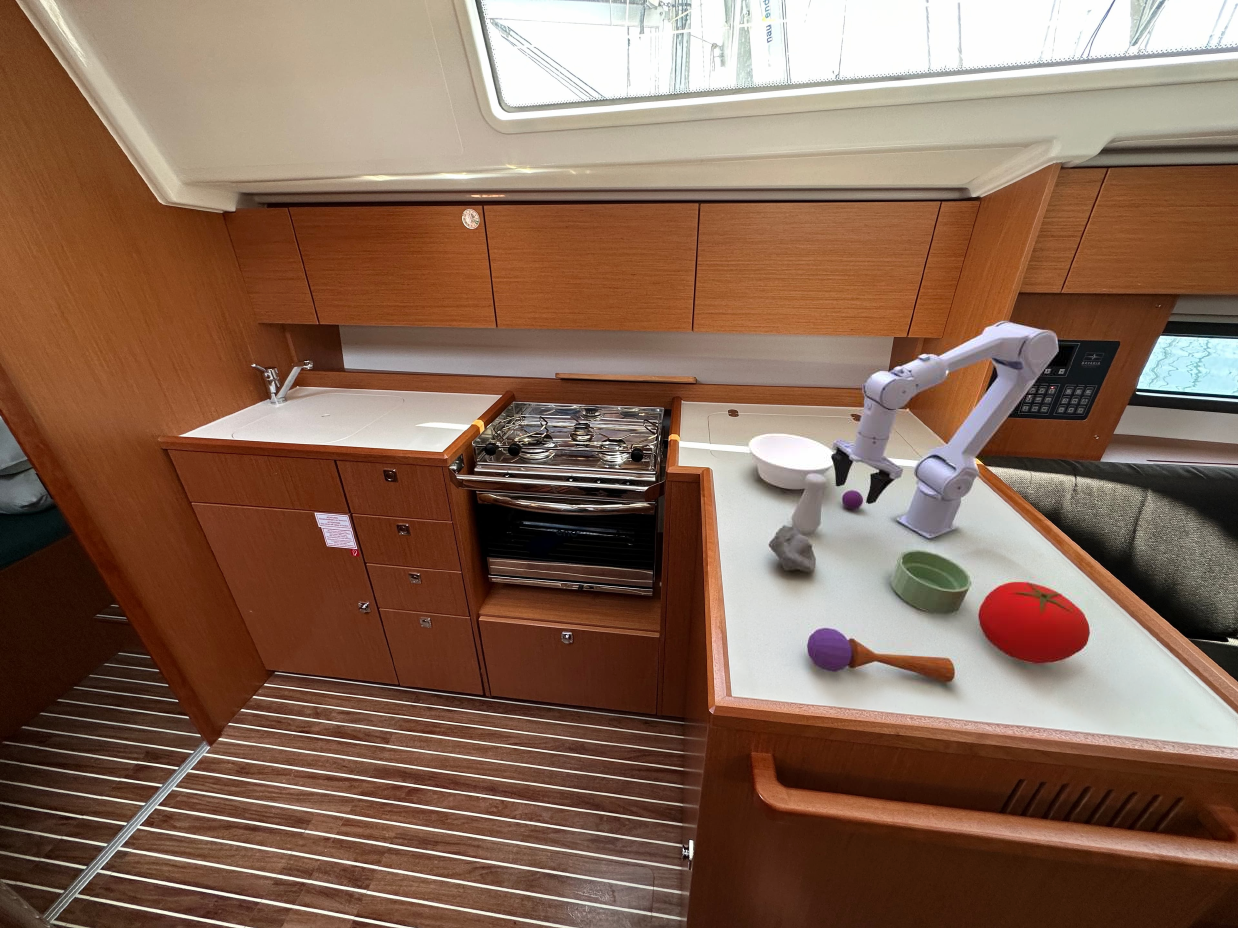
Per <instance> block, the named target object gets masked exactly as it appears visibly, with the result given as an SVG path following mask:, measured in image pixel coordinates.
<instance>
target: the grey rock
mask: <svg viewBox="0 0 1238 928" xmlns="http://www.w3.org/2000/svg"><path fill="white" fill-rule="evenodd" d="M768 547H769V548H770V550H771V551H772V552H773V553H774V554H775V556H776V557H777V558H778V559H779V562H780V563H781V566H782V567H783V569H784V570H785V571H795V570H798V571H802V572H807V573H814V572H815V569H816V561H817V558H816V556H815V553H814V550H813V544H811V542H810V540H809V538H808V537H807V536H805V535H804V534H802V533H800V532H799V531H797V530H796V529H795V528H794V527H793V526H789V525H785V524H783V525H782V526H781V527H780V528H779V529H778V530H777V531H776V532H775V535H774V536H773V538H772V539H771V540H770V541H769V543H768Z"/></svg>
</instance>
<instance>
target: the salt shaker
mask: <svg viewBox="0 0 1238 928" xmlns="http://www.w3.org/2000/svg"><path fill="white" fill-rule="evenodd" d="M804 483H805V486H806V488H804V491H803V493H802V496H801V497H800V499H799V501H798V503H797V505H796V507H795V509H794V511H793V513H792V515H791V521H792V527H794V528H795V529H796V530H797V531H799V532H800V533H801V534H802V535H811V534H812V533H814V532H815V531H816V530H817V529H818V528H819V527H820V525H821V523H822V522H821V521H822V505H823V504H822V503H823V491H824V490H825V489H826V488H827V487H828V479H827V478H826V476H824V475H820V474H813V473H812V474H809V475H807V476H806V478H805V481H804Z"/></svg>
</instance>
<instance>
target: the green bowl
mask: <svg viewBox="0 0 1238 928" xmlns="http://www.w3.org/2000/svg"><path fill="white" fill-rule="evenodd" d="M890 585H891V587H892V589H893V591H894V592H895V593H896V594H897V595H898V596H899V597H900V598H901V599H903V600H904V601H905V602H907V603H908V604H910V605H912V606H914V607H916V608H918V609H920V610H923V611H926V612H928V613H929V612H930V613H932V614H933V613H934V614H940V615H946V614H953V613H955V612H958V611H959V610H960V608H961V606H962V604H963V602H964V601H965V597H966V596H967V593H968V592H969V590H970V587H971V586H972V579H971V576H970V575H969V573H968V572H967V570H965V569H964V568H963V567H962V566H961V565H959V564H958V563H956V562H954V561H953V560H951V559H950V558H947V557H945V556H942V555H940V554H938V553H935V552H930V551H927V550H918V549H911V550H906V551H904V552H901V554H900V555H899V556H898V559H897V560H896V563H895V566H894V569H893V571H892V574H891V576H890Z"/></svg>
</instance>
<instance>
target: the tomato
mask: <svg viewBox="0 0 1238 928" xmlns="http://www.w3.org/2000/svg"><path fill="white" fill-rule="evenodd" d="M978 621H979V622H978V623H979V627H980V629H981V631H982V634H983V635H984V637H985V638H986V639H987V640H988V642H990V644H992V645H993V646H994V647H996V648H997V649H998V650H999V651H1000V652H1002V653H1004V654H1005V655H1006V656H1009V657H1011V658H1014V659H1016V660H1019V661H1022V662H1026V663H1031V664H1036V665H1037V664H1039V665H1041V664H1043V665H1044V664H1048V663H1049V664H1051V663H1057V662H1060V661H1064V660H1066V659H1068V658H1070V657H1073V656H1074V655H1075V654H1078V653H1080V652H1081V651H1082V650H1083V649H1084V648H1085V647H1086V646H1087V644H1088V642H1089V638H1090V634H1091V631H1090V624H1089V621H1088V619H1087V617H1086V615H1085V613H1084V612H1083V611H1082V610H1081V608H1079V607H1078V606H1077V605H1076V604H1075V603H1073V601H1071V600H1070V599H1069V598H1067V597H1066V596H1064V595H1063V593H1061V592H1058V591H1056V590H1054V589H1051V588H1049V587H1046V586H1044V585H1040V584H1037V583H1033V582H1030V581H1009V582H1006V583H1003V584H1001V585H1000V584H999V585H998V586H997V587H994V589H992V590H991V591H990V592H989V593H988V594H987V595H986V596H985V598H984V599H983V601H982V603H981V604H980V606H979V610H978Z"/></svg>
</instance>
